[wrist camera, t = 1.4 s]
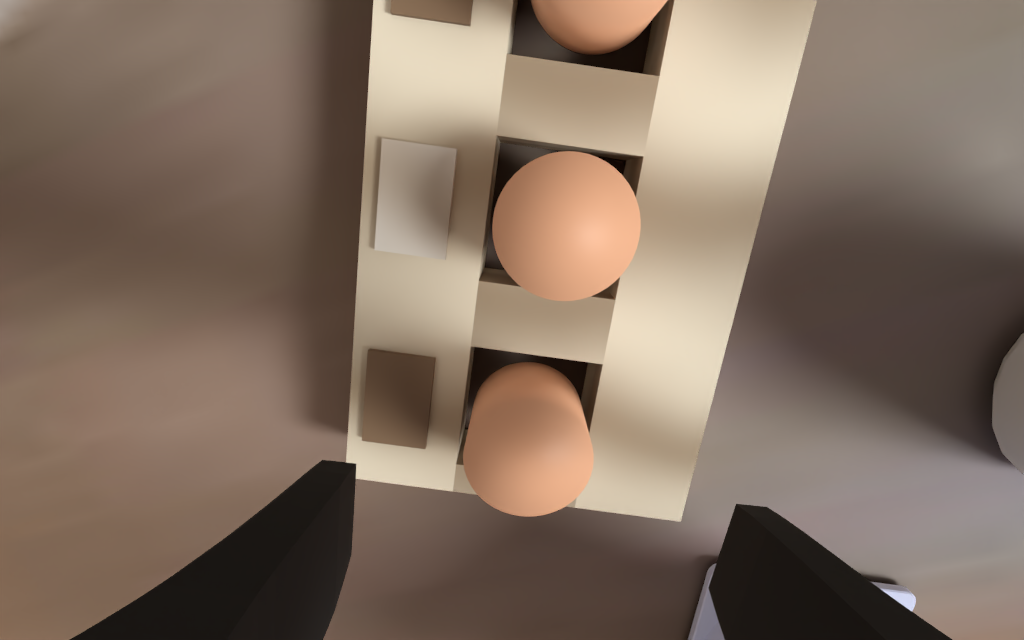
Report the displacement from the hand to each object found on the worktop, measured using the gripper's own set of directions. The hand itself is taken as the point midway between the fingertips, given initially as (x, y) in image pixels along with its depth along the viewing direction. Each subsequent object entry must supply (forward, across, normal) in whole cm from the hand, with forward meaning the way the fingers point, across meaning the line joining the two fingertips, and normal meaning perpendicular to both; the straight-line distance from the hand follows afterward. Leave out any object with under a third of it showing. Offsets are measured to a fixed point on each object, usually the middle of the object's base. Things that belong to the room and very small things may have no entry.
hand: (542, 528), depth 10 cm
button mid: (+7, 0, -5) cm, 8 cm away
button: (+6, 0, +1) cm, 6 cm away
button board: (+9, 0, -5) cm, 10 cm away
